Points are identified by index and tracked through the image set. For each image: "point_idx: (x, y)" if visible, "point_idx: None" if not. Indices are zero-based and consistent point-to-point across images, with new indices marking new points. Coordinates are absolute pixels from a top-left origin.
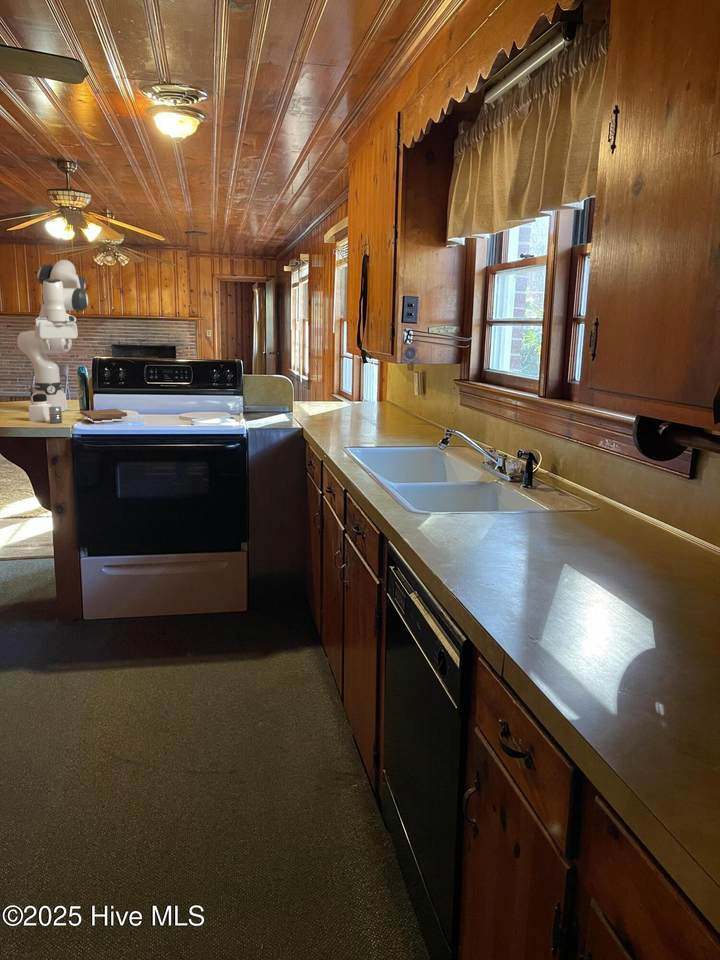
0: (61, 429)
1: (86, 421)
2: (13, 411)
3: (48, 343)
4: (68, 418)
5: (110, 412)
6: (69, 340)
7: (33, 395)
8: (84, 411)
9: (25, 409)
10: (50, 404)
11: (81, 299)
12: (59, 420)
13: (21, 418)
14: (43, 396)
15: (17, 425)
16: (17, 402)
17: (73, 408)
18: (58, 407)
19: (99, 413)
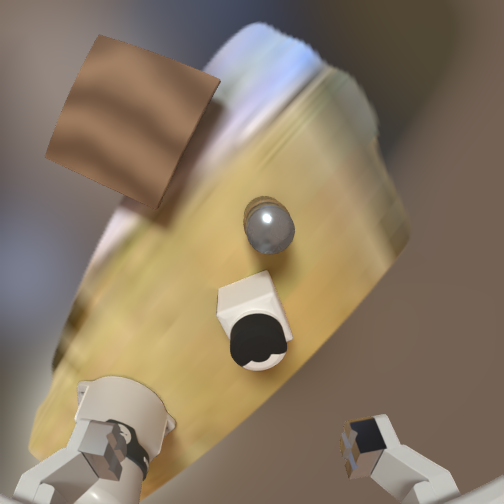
0: (350, 91)
1: None
2: (194, 450)
3: (411, 462)
4: (171, 264)
5: (116, 89)
6: (36, 490)
7: (285, 350)
8: (155, 190)
9: None
10: (222, 312)
11: None
12: (267, 197)
13: None
14: (259, 324)
15: (362, 269)
16: None
17: (63, 391)
18: (266, 214)
19: (159, 97)
